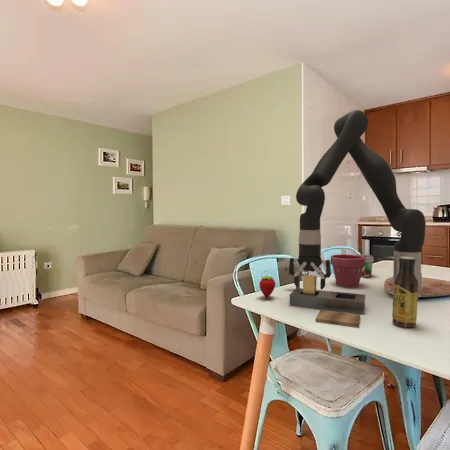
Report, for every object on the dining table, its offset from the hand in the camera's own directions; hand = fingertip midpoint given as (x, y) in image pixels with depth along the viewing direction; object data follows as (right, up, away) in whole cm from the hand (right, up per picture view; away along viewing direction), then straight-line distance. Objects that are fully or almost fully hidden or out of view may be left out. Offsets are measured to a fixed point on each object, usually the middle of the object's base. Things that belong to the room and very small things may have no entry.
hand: (309, 287), depth 116 cm
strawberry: (-14, -6, +8) cm, 17 cm away
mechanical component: (0, -5, +19) cm, 20 cm away
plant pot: (+24, -4, +27) cm, 36 cm away
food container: (+40, -3, +45) cm, 60 cm away
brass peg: (0, -6, 0) cm, 6 cm away
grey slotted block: (+6, -6, -2) cm, 8 cm away
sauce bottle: (+22, -7, -21) cm, 31 cm away
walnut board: (+5, -7, -16) cm, 18 cm away
